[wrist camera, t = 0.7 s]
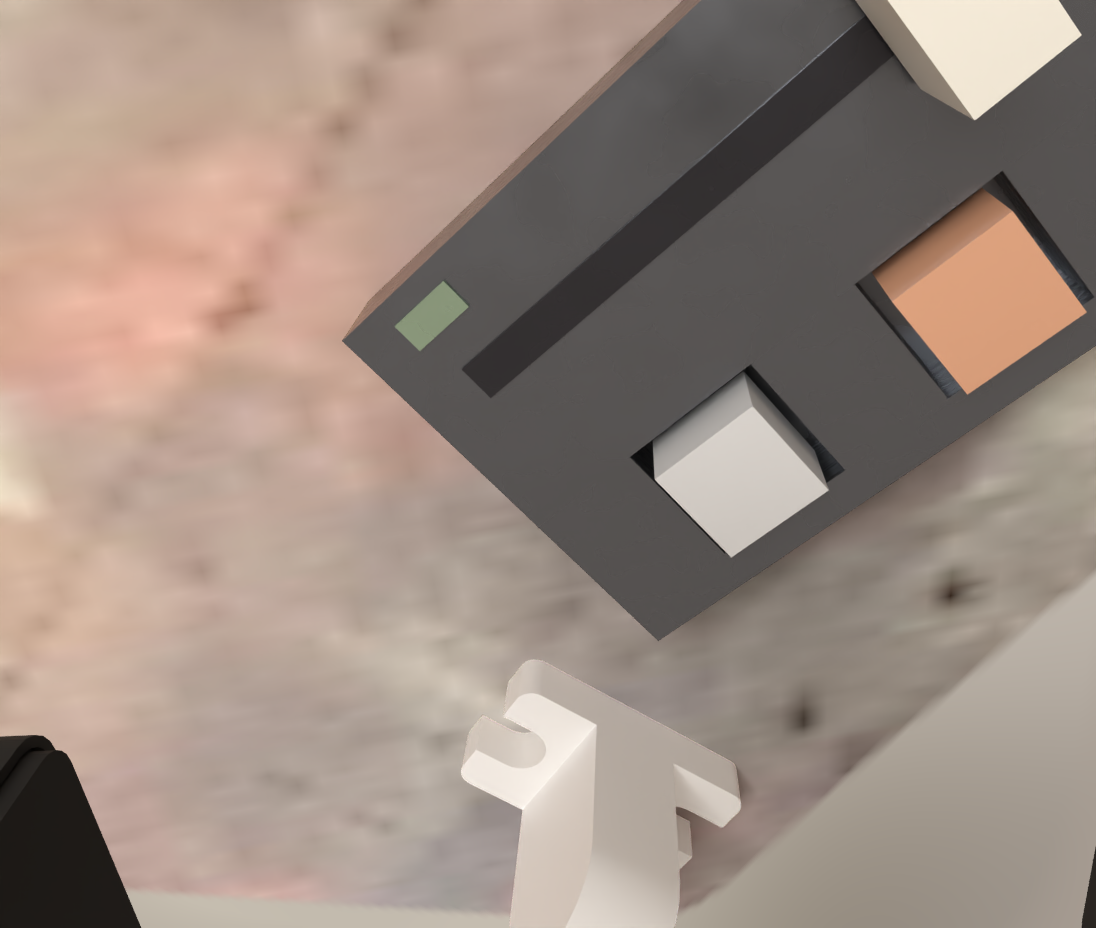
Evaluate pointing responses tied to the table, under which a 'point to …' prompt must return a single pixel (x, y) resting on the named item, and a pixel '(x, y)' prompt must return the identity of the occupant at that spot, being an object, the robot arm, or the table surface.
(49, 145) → the table surface
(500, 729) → the cable organizer
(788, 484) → the grey key
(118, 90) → the table surface
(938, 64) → the cream tall block
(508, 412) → the control panel
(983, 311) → the terracotta key
